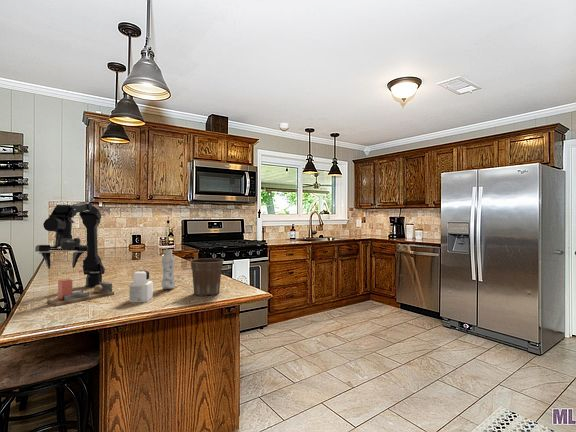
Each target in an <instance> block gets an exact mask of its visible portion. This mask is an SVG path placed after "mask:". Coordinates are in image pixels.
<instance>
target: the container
mask: <svg viewBox="0 0 576 432" xmlns="http://www.w3.org/2000/svg"><path fill="white" fill-rule="evenodd" d="M132 274H133V275H132V277H133V279H132V280H133V283H130V284H129V285H128V286H129V293H128V294H129V298H128V299H129V303H147V302H149V301H150V300H152V299H153V297H154V294H153V293H154V292H153V288H154V287H153V285H154V283H153V281H152V280H150V272H149V271H148V270H142V269H141V270H136V271H133V273H132Z"/></svg>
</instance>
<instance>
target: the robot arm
mask: <svg viewBox="0 0 576 432" xmlns="http://www.w3.org/2000/svg"><path fill="white" fill-rule="evenodd" d="M77 214H78V216H79V217H80V218H81V221H82V224H83V226H84V227H85V229H86V231H85V232H86V244H81V239H80V237H79V238H78V237H75V238H74V237H73V235H72V231H73V229H72V228H73V227H72V226H73V224H74V223H75V221H74V220H73V219H72V218H74V217H75V216H77ZM101 219H102V214H101V211H100V210H99V208H97V207H95V206H94V205H93V203H92V202H89V201H87V202H86V201H80V202H78V203H73V204H56V205H55V207H54V208H53V209H52V212H51V214H49V215H48V218H46V219H45V220H44V222H43V226H42V227H43V228H44V230H45V231H47V232H51V233H52V232H53V233H55V235H54V238H55V240H54V241H55V243H54V246H52V245H50V244H37V245H36V246H35V250H34V252H38V254H39V255H41V256H42V258H43V259H44V262H45V264H46V266H47V268H48V269H51V255H52V252H50V251H74V252H72V263H71V267H72V269H75V266H76V265H77V262H78V261H79V258H80V257H81V256H82V255H83V254H85V253H86V257H85V258H84V259H83V261H82V270H83V276H86V278H85V284H84V285H85V286H86V287H88V288H94V287H95V286H96V285H99V282H103V275H105V271H106V268H105V267H104V265H103V263H102V258H101V257H100V255H99V254H98V227H99V225H100V224H101Z"/></svg>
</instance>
